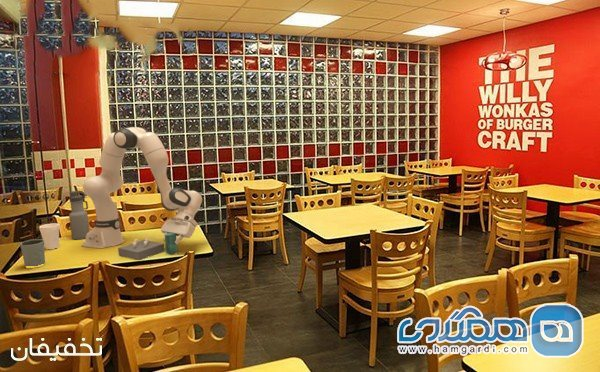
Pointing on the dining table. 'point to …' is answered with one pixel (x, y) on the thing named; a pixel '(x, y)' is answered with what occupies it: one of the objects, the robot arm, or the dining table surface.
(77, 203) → the water bottle
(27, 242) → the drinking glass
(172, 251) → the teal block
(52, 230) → the foam cup
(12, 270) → the dining table surface
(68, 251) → the dining table surface
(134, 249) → the peg stand
